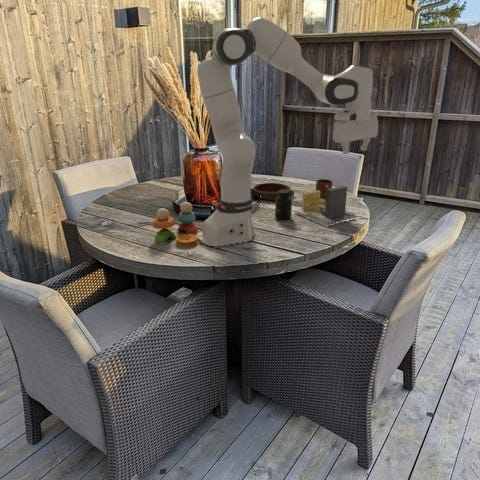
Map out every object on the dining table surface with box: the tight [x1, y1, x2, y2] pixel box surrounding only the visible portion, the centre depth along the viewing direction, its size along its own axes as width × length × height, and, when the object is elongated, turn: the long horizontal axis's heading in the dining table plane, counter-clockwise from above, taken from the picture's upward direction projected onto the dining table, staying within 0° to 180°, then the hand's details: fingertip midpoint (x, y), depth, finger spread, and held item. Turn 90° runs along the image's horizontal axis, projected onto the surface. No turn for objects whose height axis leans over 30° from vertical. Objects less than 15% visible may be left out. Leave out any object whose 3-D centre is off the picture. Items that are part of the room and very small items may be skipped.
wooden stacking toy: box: [152, 201, 199, 247], centre depth 165 cm, size 18×17×12 cm
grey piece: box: [294, 190, 356, 225], centre depth 186 cm, size 16×20×8 cm
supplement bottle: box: [274, 190, 293, 221], centre depth 184 cm, size 7×7×12 cm
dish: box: [252, 182, 295, 201], centre depth 214 cm, size 18×22×5 cm
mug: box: [315, 178, 333, 200], centre depth 205 cm, size 12×8×9 cm, turn 2°
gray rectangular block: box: [321, 185, 348, 219], centre depth 182 cm, size 9×6×12 cm
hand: (354, 152), depth 163 cm, fingers open, 8 cm apart
